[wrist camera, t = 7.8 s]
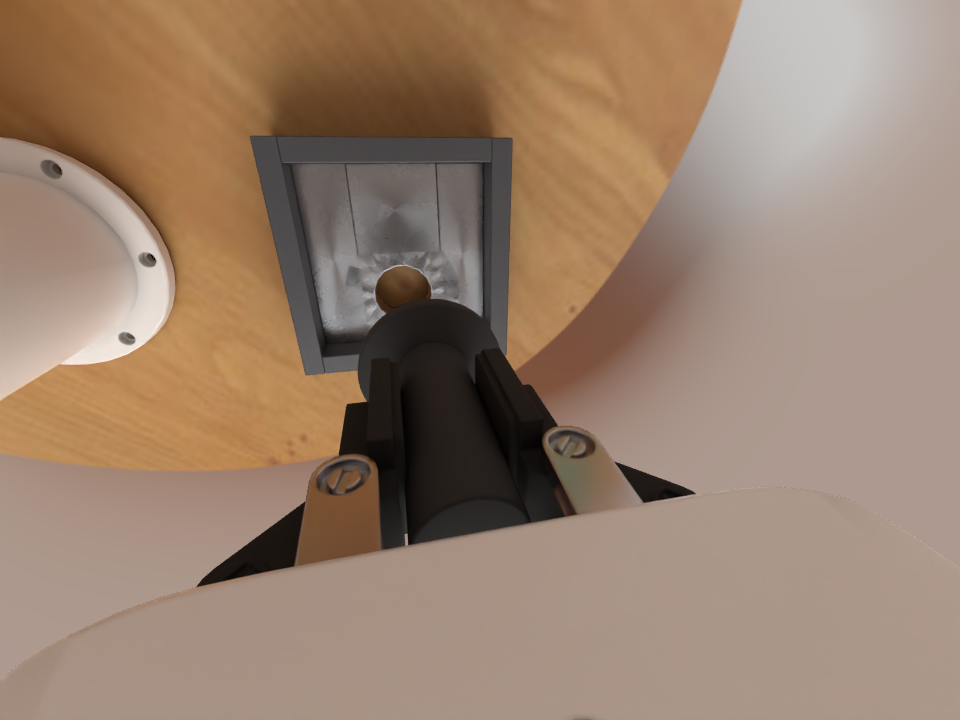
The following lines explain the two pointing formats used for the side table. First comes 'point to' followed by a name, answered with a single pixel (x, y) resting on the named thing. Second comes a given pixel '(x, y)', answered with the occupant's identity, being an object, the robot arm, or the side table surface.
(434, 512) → the plug
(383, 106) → the side table surface
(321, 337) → the sink basin
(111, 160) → the side table surface
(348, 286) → the plate
